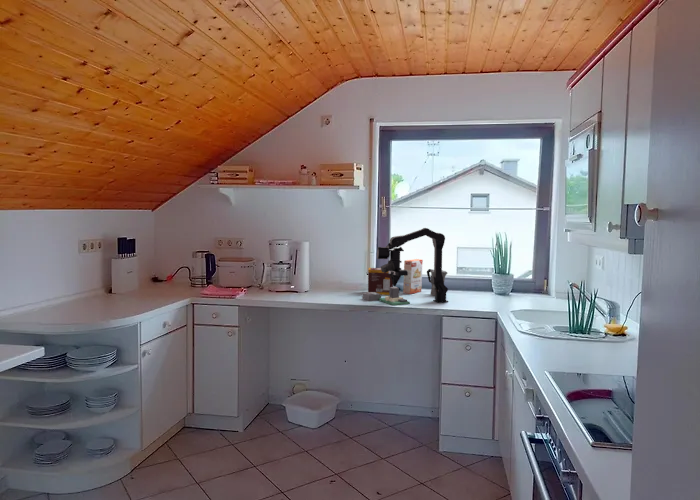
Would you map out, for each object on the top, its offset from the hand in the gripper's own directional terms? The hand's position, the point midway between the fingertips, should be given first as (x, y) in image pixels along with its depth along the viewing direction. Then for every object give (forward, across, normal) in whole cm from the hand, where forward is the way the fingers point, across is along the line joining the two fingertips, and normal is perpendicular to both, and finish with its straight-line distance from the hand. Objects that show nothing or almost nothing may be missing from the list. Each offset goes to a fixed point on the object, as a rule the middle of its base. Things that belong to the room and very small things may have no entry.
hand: (394, 286), depth 288 cm
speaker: (+9, -12, -8) cm, 17 cm away
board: (+9, 0, 0) cm, 9 cm away
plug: (+8, 0, 0) cm, 8 cm away
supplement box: (+10, -28, +7) cm, 30 cm away
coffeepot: (+10, -10, +37) cm, 39 cm away
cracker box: (+10, -23, +28) cm, 37 cm away
